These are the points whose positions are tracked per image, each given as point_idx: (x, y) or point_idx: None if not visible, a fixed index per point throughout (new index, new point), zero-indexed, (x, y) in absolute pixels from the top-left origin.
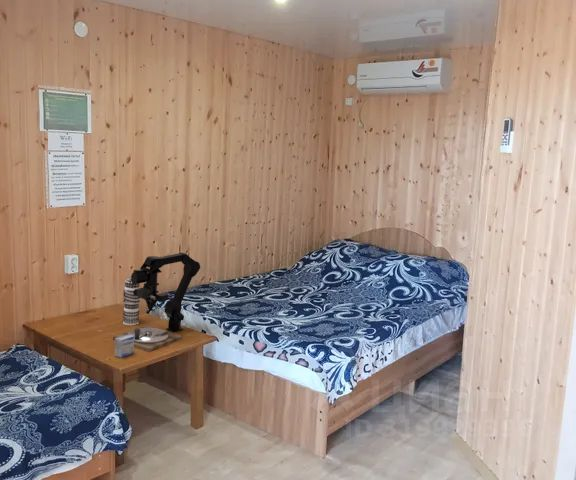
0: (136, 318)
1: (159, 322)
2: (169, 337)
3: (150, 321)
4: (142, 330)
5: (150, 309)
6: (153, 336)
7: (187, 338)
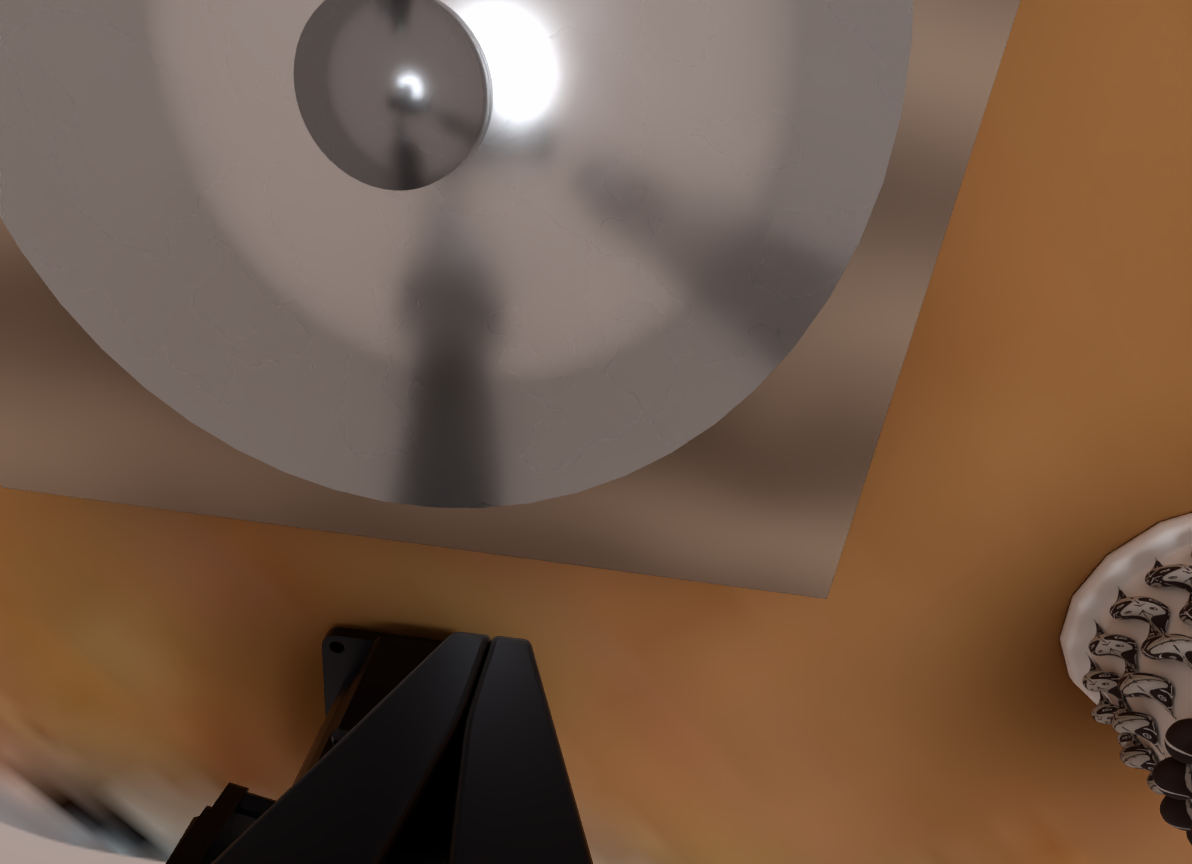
0: (1140, 679)
1: (782, 813)
2: None
3: (923, 790)
4: (679, 233)
5: (404, 685)
6: (210, 39)
7: (8, 523)
